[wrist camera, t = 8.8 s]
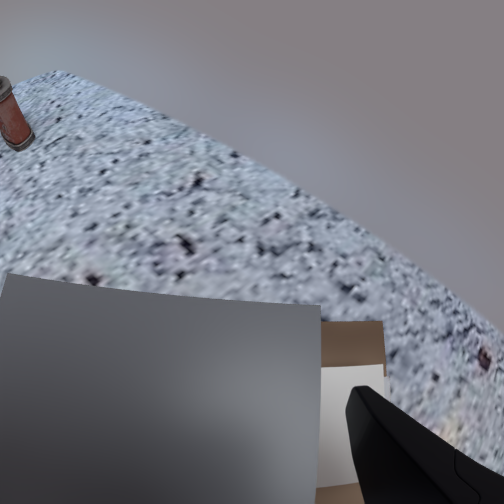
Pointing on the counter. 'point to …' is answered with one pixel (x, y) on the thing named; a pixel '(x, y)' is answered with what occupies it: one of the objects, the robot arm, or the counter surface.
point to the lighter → (13, 120)
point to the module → (155, 397)
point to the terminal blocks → (340, 420)
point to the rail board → (343, 355)
